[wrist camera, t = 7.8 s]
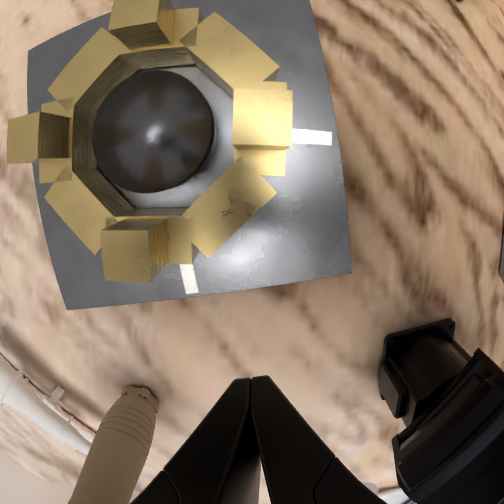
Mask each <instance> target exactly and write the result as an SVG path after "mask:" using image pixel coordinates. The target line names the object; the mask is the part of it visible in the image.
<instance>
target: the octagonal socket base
mask: <svg viewBox="0 0 504 504" xmlns="http://www.w3.org/2000/svg"><path fill="white" fill-rule="evenodd" d="M108 31H109V32H110V33H112V34H113V36H112V35H111V34H110V33H108V32H107V31H106V30H105V29H104V28H102V27H101V28H100V29H99V30H98V31H97V32H96V33H95V35H94V36H93V37H92V38H91V39H90V40H89V41H88V42H87V43H86V44H85V45H84V46H83V47H82V48H81V49H80V51H79V52H78V53H77V54H76V55H75V56H74V57H73V59H72V60H71V61H70V62H69V63H68V64H67V66H66V67H65V68H64V69H63V70H62V72H61V73H60V74H59V75H58V77H57V78H56V79H55V80H54V82H53V83H52V84H51V86H50V87H49V88H48V91H49V92H50V93H51V95H52V96H53V97H54V98H55V99H56V100H57V101H53V102H49V103H45V104H42V106H41V112H40V111H39V112H36V113H32V114H28V115H24V116H21V117H17V118H14V119H10V120H8V133H7V164H18V163H36V162H39V184H40V183H50V182H54V183H53V185H52V186H51V188H50V189H49V191H48V192H47V194H46V195H45V197H44V198H45V199H46V200H47V202H48V203H49V204H50V205H51V206H52V208H53V209H54V210H55V211H56V212H57V214H58V215H59V216H60V217H61V218H62V219H63V221H64V222H65V223H66V224H67V225H68V226H69V227H70V229H71V230H72V231H73V232H74V233H75V234H76V235H77V236H78V237H79V239H80V240H81V241H82V242H83V243H84V244H85V245H86V246H87V247H88V248H89V250H90V251H91V252H92V253H93V254H94V255H96V254H98V253H100V252H101V251H102V261H103V270H104V278H105V281H122V282H142V283H152V282H153V280H154V279H155V278H156V277H157V275H158V274H159V273H160V272H161V271H162V269H163V268H164V267H165V266H166V264H193V262H194V260H195V258H196V257H197V255H198V253H199V252H200V251H201V252H202V253H203V254H204V255H205V256H206V257H207V258H209V257H210V256H211V255H212V254H213V253H214V252H215V251H216V250H217V249H218V248H219V247H220V246H221V245H222V244H224V243H225V242H226V241H227V240H228V239H229V238H230V237H231V236H232V235H233V234H234V233H235V232H236V231H237V230H238V229H239V228H240V227H241V226H242V225H243V224H245V223H246V222H247V221H248V220H249V219H250V218H251V217H252V216H253V215H254V214H255V213H256V212H257V211H258V210H259V209H260V208H262V207H263V206H264V205H265V204H266V203H267V202H268V201H269V200H270V199H271V198H272V197H273V196H274V195H275V194H277V192H276V191H275V190H274V189H273V188H272V187H271V186H270V185H269V184H268V183H267V182H266V181H265V180H264V179H263V177H262V176H261V175H272V176H285V154H286V149H287V148H289V147H291V146H292V110H293V90H287V82H275V81H276V78H277V75H278V71H279V68H280V66H279V65H278V64H276V63H275V62H274V61H273V60H272V59H271V58H270V57H269V56H268V55H267V54H265V53H264V52H263V51H262V50H261V49H260V48H259V47H258V46H256V45H255V44H254V43H253V42H252V41H251V40H249V39H248V38H247V37H246V36H245V35H243V34H242V33H241V32H240V31H239V30H237V29H236V28H235V27H234V26H232V25H231V24H230V23H229V22H227V21H226V20H225V19H224V18H222V17H221V16H220V15H218V14H217V13H216V12H214V13H212V14H211V15H210V16H208V17H207V18H206V19H205V20H203V17H202V14H201V11H200V9H199V8H187V9H177V10H175V8H174V6H173V4H172V2H171V0H114V2H113V7H112V12H111V17H110V22H109V28H108ZM190 64H196V65H197V66H198V67H199V68H200V69H201V70H203V71H204V72H205V73H206V74H207V75H208V76H209V77H210V78H211V79H213V80H214V81H215V82H216V83H217V84H218V85H219V86H220V87H221V88H222V89H223V90H225V91H226V92H227V93H228V94H229V95H230V96H231V97H232V98H233V134H232V145H233V146H234V161H233V165H231V166H230V167H229V168H228V169H227V170H226V171H225V172H224V173H223V174H222V175H221V176H220V177H219V178H218V179H217V180H216V181H215V182H214V183H213V184H212V185H211V186H210V187H209V188H208V189H207V190H206V191H205V192H204V193H203V194H202V195H201V196H200V197H199V198H198V199H197V200H196V201H195V202H194V203H193V204H192V205H191V206H190V207H189V208H159V209H134V208H133V207H132V206H131V205H130V204H129V203H128V202H127V201H126V200H125V199H124V198H123V197H122V196H121V195H120V194H119V193H118V192H117V191H116V190H115V188H114V187H113V186H112V185H111V184H110V183H109V182H108V181H107V180H106V179H105V178H104V177H103V176H102V175H101V173H100V172H99V171H98V170H97V161H96V158H95V155H94V152H93V147H92V129H93V123H94V120H95V116H96V114H97V111H98V109H99V107H100V105H101V103H102V102H103V100H104V99H105V97H106V96H107V95H108V94H109V92H110V91H111V90H112V89H113V88H114V87H116V86H117V85H118V84H119V83H121V82H122V81H124V80H125V79H127V78H129V77H131V76H132V75H133V74H134V73H135V72H136V71H137V70H138V69H146V68H155V67H165V66H176V65H190Z"/></svg>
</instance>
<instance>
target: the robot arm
mask: <svg viewBox="0 0 504 504" xmlns="http://www.w3.org/2000/svg"><path fill="white" fill-rule="evenodd" d="M449 325H450V326H449ZM448 326H449V327H448ZM454 331H455V321H453V320H452V319H447V320H443V321H440V322H436V323H433V324H429V325H426V326H422V327H418V328H414V329H411V330H407V331H403V332H399V333H395V334H391V335H388V336H387V337H386V338H385V341H384V354H383V361H382V362H381V364H380V373H379V384H378V387H379V389H380V397H381V399H382V400H386V402H387V404H388V406H389V408H390V410H391V412H392V414H393V416H394V417H395V418H397V419H398V418H402V420H403V422H404V424H405V426H406V428H405V429H404V430H403V431H402V432H401V433H400V434H397V435H396V436H395V437H394V438H392V445H393V452H394V460H395V467H396V475H397V480H398V485H399V487H400V488H402V490H403V492H404V493H405V494H406V495H407V496H408V497H409V498H410V499H411V500H412V501H414V502H415V503H417V504H504V371H503V370H502V369H501V368H500V367H499V366H498V365H497V364H495V363H494V362H493V361H492V360H491V359H490V358H489V357H488V356H487V355H486V354H485V353H484V352H483V351H482V350H480V349H479V348H477V350H476V351H475V352H474V353H473V354H474V355H473V357H471V356H470V355H469V354H468V353H467V352H466V351H465V350H464V349H463V348H462V347H461V346H460V345H459V344H458V343H457V342H456V341H455V340H454V339H453V337H454ZM391 340H393V341H392V342H391V343H389V342H390V341H391ZM261 463H262V467H263V471H264V476H265V480H266V484H267V488H268V493H269V497H270V501H271V504H387V503H386V502H384V501H383V500H382V499H380V498H379V497H378V496H377V495H375V494H374V493H373V492H372V491H370V490H369V489H368V488H367V487H366V486H365V485H363V484H362V483H361V482H360V481H359V480H358V479H357V478H356V477H355V476H354V475H353V474H352V473H351V472H350V471H349V470H348V469H347V468H346V467H345V466H344V464H343V463H342V462H341V461H340V460H339V459H338V458H337V457H335V455H334V453H333V452H332V451H331V450H330V449H329V448H328V447H327V445H326V444H325V443H324V442H323V441H322V440H321V439H320V437H319V436H318V435H317V434H316V433H315V431H314V430H313V429H312V428H311V427H310V426H309V424H308V423H307V422H306V421H305V420H304V418H303V417H302V416H301V415H300V414H299V412H298V411H297V410H296V409H295V408H294V406H293V405H292V404H291V403H290V401H289V400H288V399H287V398H286V397H285V395H284V394H283V393H282V392H281V390H280V389H279V388H278V387H277V385H276V384H275V383H274V382H273V380H272V379H271V378H270V377H269V376H268V375H264V376H257V377H253V378H252V380H251V378H239V379H235V380H233V382H232V383H231V384H230V386H229V387H228V388H227V389H226V391H225V392H224V393H223V395H222V396H221V397H220V399H219V400H218V401H217V402H216V404H215V405H214V406H213V408H212V409H211V410H210V411H209V413H208V414H207V415H206V417H205V418H204V419H203V420H202V422H201V423H200V424H199V425H198V427H197V428H196V429H195V430H194V432H193V433H192V434H191V435H190V436H189V438H188V439H187V440H186V441H185V443H184V444H183V445H182V446H181V447H180V449H179V450H178V451H177V452H176V454H175V455H174V456H173V457H172V458H171V459H170V461H169V462H168V463H167V464H166V465H165V467H164V468H163V470H164V471H160V472H159V473H158V475H157V476H156V477H155V478H154V479H153V480H152V481H151V483H150V484H149V485H148V486H147V487H146V488H145V489H144V490H143V491H142V492H141V493H140V494H139V495H138V496H137V497H136V498H135V499H134V500H133V501H132V502H131V503H130V504H258V498H259V485H260V471H261Z"/></svg>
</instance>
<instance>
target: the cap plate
mask: <svg viewBox="0 0 504 504" xmlns="http://www.w3.org/2000/svg"><path fill="white" fill-rule="evenodd" d="M171 2H172V4H173V6H174V8H175V10H177V9H187V8H199V9H200V11H201V14H202V17H203V20H205V19H206V18H207V17H208V16H210V15H211V14H212V13H214V12H216V13H217V14H218V15H220V16H221V17H222V18H224V19H225V20H226V21H227V22H229V23H230V24H231V25H232V26H234V27H235V28H236V29H237V30H239V31H240V32H241V33H242V34H243V35H245V36H246V37H247V38H248V39H249V40H251V41H252V42H253V43H254V44H255V45H256V46H258V47H259V48H260V49H261V50H262V51H263V52H264V53H265V54H267V55H268V56H269V57H270V58H271V59H272V60H273V61H274V62H275V63H276V64H278V65H279V66H280V68H279V71H278V75H277V78H276V81H275V82H287V90H293V110H292V146H291V147H289V148H287V149H286V154H285V176H272V175H261V176H262V177H263V179H264V180H265V181H266V182H267V183H268V184H269V185H270V186H271V187H272V188H273V189H274V190H275V191H276V192H277V194H275V195H274V196H273V197H272V198H271V199H270V200H269V201H268V202H267V203H266V204H265V205H264V206H263V207H262V208H260V209H259V210H258V211H257V212H256V213H255V214H254V215H253V216H252V217H251V218H250V219H249V220H248V221H247V222H246V223H245V224H243V225H242V226H241V227H240V228H239V229H238V230H237V231H236V232H235V233H234V234H233V235H232V236H231V237H230V238H229V239H228V240H227V241H226V242H225V243H224V244H222V245H221V246H220V247H219V248H218V249H217V250H216V251H215V252H214V253H213V254H212V255H211V256H210V257H209V258H207V257H206V256H205V255H204V254H203V253H202V252H201V251H200V252H199V253H198V255H197V257H196V258H195V260H194V262H193V264H166V266H165V267H164V268H163V269H162V271H161V272H160V273H159V274H158V275H157V277H156V278H155V279H154V280H153V282H152V283H142V282H122V281H105V278H104V270H103V261H102V251H101V252H100V253H98V254H96V255H94V254H93V253H92V252H91V251H90V250H89V248H88V247H87V246H86V245H85V244H84V243H83V242H82V241H81V240H80V239H79V237H78V236H77V235H76V234H75V233H74V232H73V231H72V230H71V229H70V227H69V226H68V225H67V224H66V223H65V222H64V221H63V219H62V218H61V217H60V216H59V215H58V214H57V212H56V211H55V210H54V209H53V208H52V206H51V205H50V204H49V203H48V202H47V200H46V199H45V198H44V197H45V195H46V194H47V192H48V191H49V189H50V188H51V186H52V185H53V183H54V182H50V183H40V184H39V162H36V163H32V165H33V172H34V179H35V186H36V192H37V198H38V203H39V208H40V214H41V218H42V223H43V228H44V232H45V237H46V241H47V245H48V249H49V253H50V256H51V260H52V264H53V267H54V271H55V274H56V278H57V281H58V284H59V288H60V291H61V294H62V297H63V300H64V303H65V306H66V309H67V310H74V309H85V308H95V307H106V306H115V305H125V304H134V303H144V302H153V301H161V300H170V299H178V298H186V297H194V296H202V295H210V294H218V293H225V292H232V291H240V290H247V289H254V288H261V287H268V286H275V285H281V284H288V283H295V282H301V281H307V280H314V279H320V278H326V277H332V276H338V275H344V274H350V273H352V272H351V254H350V240H349V227H348V215H347V205H346V195H345V186H344V177H343V169H342V161H341V154H340V147H339V140H338V133H337V127H336V121H335V115H334V109H333V103H332V98H331V92H330V87H329V82H328V77H327V72H326V67H325V62H324V58H323V53H322V49H321V44H320V40H319V36H318V32H317V28H316V24H315V20H314V16H313V12H312V8H311V5H310V1H309V0H171ZM110 17H111V12H110V13H107V14H105V15H102V16H100V17H97V18H95V19H92V20H90V21H87V22H85V23H83V24H80V25H78V26H76V27H74V28H72V29H69V30H67V31H65V32H63V33H61V34H59V35H57V36H55V37H53V38H51V39H49V40H47V41H45V42H43V43H42V44H40V45H38V46H36V47H34V48H32V49H31V50H29V51H28V70H27V99H28V114H32V113H36V112H39V111H40V112H41V106H42V104H45V103H49V102H53V101H57V100H56V99H55V98H54V97H53V96H52V95H51V93H50V92H49V91H48V88H49V87H50V86H51V84H52V83H53V82H54V80H55V79H56V78H57V77H58V75H59V74H60V73H61V72H62V70H63V69H64V68H65V67H66V66H67V64H68V63H69V62H70V61H71V60H72V59H73V57H74V56H75V55H76V54H77V53H78V52H79V51H80V49H81V48H82V47H83V46H84V45H85V44H86V43H87V42H88V41H89V40H90V39H91V38H92V37H93V36H94V35H95V33H96V32H97V31H98V30H99V29H100V28H101V27H102V28H104V29H105V30H106V31H107V32H108V33H110V32H109V31H108V28H109V22H110ZM110 34H111V35H112V36H113V34H112V33H110ZM232 134H233V98H232V97H231V96H230V95H229V94H228V93H227V92H226V91H225V90H223V89H222V88H221V87H220V86H219V85H218V84H217V83H216V82H215V81H214V80H213V79H211V78H210V77H209V76H208V75H207V74H206V73H205V72H204V71H203V70H201V69H200V68H199V67H198V66H197V65H196V64H190V65H176V66H165V67H155V68H146V69H138V70H137V71H136V72H135V73H134V74H133V75H132V76H131V77H129V78H127V79H125V80H124V81H122V82H121V83H119V84H118V85H117V86H116V87H114V88H113V89H112V90H111V91H110V92H109V94H108V95H107V96H106V97H105V99H104V100H103V102H102V103H101V105H100V107H99V109H98V111H97V114H96V116H95V120H94V123H93V129H92V147H93V152H94V155H95V158H96V161H97V170H98V171H99V172H100V173H101V175H102V176H103V177H104V178H105V179H106V180H107V181H108V182H109V183H110V184H111V185H112V186H113V187H114V188H115V190H116V191H117V192H118V193H119V194H120V195H121V196H122V197H123V198H124V199H125V200H126V201H127V202H128V203H129V204H130V205H131V206H132V207H133V208H134V209H159V208H189V207H190V206H191V205H192V204H193V203H194V202H195V201H196V200H197V199H198V198H199V197H200V196H201V195H202V194H203V193H204V192H205V191H206V190H207V189H208V188H209V187H210V186H211V185H212V184H213V183H214V182H215V181H216V180H217V179H218V178H219V177H220V176H221V175H222V174H223V173H224V172H225V171H226V170H227V169H228V168H229V167H230V166H231V165H233V161H234V146H233V145H232Z"/></svg>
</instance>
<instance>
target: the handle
mask: <svg viewBox="0 0 504 504" xmlns="http://www.w3.org/2000/svg"><path fill="white" fill-rule="evenodd" d="M158 407H159V402H158V400H157V399H155V398H154V397H153V396H152V394H151V393H150V390H148V389H147V388H145V387H142V388H137V387H133V386H128V387H126V388H125V389H124V391H123V392H122V396H121V397H120V398H119V399H118V400H117V401H116V402H115V403H114V404H113V406H112V407H111V408H110V410H109V411H108V413H107V414H106V416H105V417H104V419H103V421H102V422H101V424H100V426H99V428H98V430H97V432H96V435H95V437H94V439H93V442H92V444H91V447H90V450H89V452H88V455H87V458H86V460H85V463H84V466H83V468H82V471H81V474H80V476H79V479H78V481H77V484H76V486H75V489H74V492H73V495H72V497H71V499H70V500H69V502H68V504H129V502H130V499H131V496H132V493H133V491H134V488H135V486H136V483H137V481H138V478H139V476H140V474H141V471H142V469H143V466H144V464H145V461H146V459H147V456H148V453H149V450H150V447H151V443H152V438H153V434H154V428H155V419H156V415H155V413H158Z"/></svg>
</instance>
